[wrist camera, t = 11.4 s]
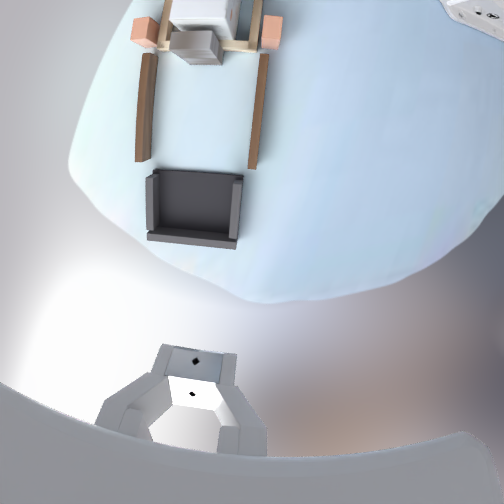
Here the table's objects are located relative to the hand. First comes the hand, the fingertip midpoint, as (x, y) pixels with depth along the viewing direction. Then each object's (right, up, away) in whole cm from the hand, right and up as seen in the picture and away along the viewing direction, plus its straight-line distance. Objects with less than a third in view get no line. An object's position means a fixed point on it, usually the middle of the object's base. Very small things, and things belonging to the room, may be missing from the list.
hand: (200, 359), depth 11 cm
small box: (-2, +34, +16) cm, 37 cm away
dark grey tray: (-5, +11, +27) cm, 30 cm away
